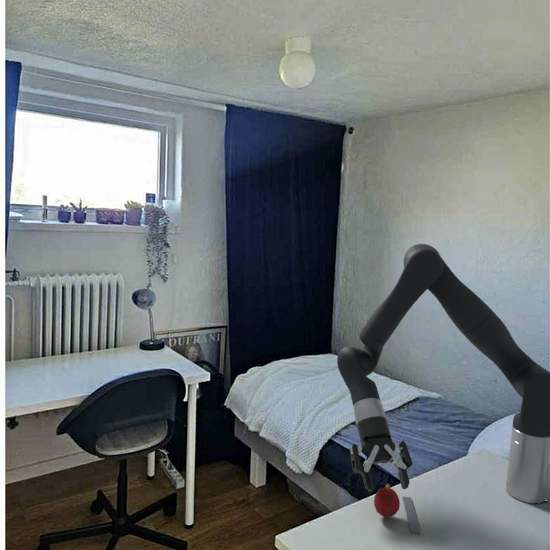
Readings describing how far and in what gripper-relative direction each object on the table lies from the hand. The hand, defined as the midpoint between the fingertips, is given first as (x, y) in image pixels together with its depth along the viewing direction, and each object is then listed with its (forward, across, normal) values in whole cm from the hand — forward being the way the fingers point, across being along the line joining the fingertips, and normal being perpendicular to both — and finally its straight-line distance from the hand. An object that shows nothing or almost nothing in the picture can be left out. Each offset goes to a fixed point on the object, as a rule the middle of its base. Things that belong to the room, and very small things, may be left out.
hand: (388, 489), depth 112 cm
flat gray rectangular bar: (+5, +6, +5) cm, 10 cm away
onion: (+5, 0, +5) cm, 7 cm away
